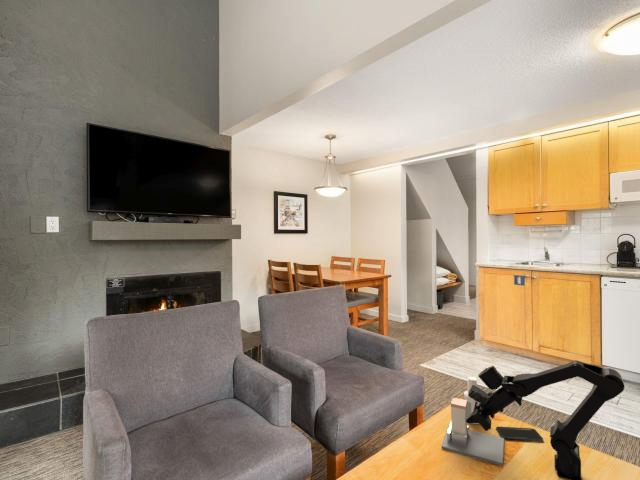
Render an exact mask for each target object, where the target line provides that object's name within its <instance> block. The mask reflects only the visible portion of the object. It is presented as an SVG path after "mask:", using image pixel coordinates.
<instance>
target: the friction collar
mask: <svg viewBox="0 0 640 480" xmlns="http://www.w3.org/2000/svg"><path fill="white" fill-rule="evenodd" d="M449 425H450V426H449ZM449 425H448V426H449V429H448V428H447V429H448V432H447V431H446V432H447V442H450V441H451V422H450V424H449ZM469 430H470V427H469V425H467V435H463V434H459V433H455V432H452V443H454V444H457V445H461V446H465V447H466V445H467V436H469Z"/></svg>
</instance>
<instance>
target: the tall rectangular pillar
mask: <svg viewBox="0 0 640 480" xmlns="http://www.w3.org/2000/svg"><path fill="white" fill-rule="evenodd" d="M450 410H451V411H450V416H451V417H450V418H451V419H450V423H451V440H452V432H455V433H459V434H463V435H467V426H468V423H467V422H466V420H467V400H464V399H461V398H457V397H452V399H451V402H450Z"/></svg>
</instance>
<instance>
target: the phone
mask: <svg viewBox="0 0 640 480" xmlns="http://www.w3.org/2000/svg"><path fill="white" fill-rule="evenodd" d="M495 430H496V432H497V433H498V435H499V437H501V438H504V441H514V442H515V441H516V442H531V441H535V442H537V443H543V442H544V437H542V435H540V433H539V432H538V431H537V430H536V429H535V428H531V427H516V426H515V427H512V426H496V427H495ZM535 442H534V443H535Z"/></svg>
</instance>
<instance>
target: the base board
mask: <svg viewBox="0 0 640 480" xmlns="http://www.w3.org/2000/svg"><path fill="white" fill-rule="evenodd" d="M449 426H450V424H448V427H447V429H446V433H445V436H444V438H443V441H442V444H441V449H442V450H444V451H448V452H453V453H455V454H458V455H463V456H466V457H469V458H473V459H477V460H480V461H483V462H486V463H490V464H494V465H498V466H500V467H503V466H504V448H505V440H504V438H501V437H500V436H496V435H492V434H488V433H485V432H480V431H477V430H476V431H475V430H473V429H469V436H467V445H466V447H465V446H461V445H457V444H454V443H452V440H451V441H450V442H447V432H448V429H449Z"/></svg>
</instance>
